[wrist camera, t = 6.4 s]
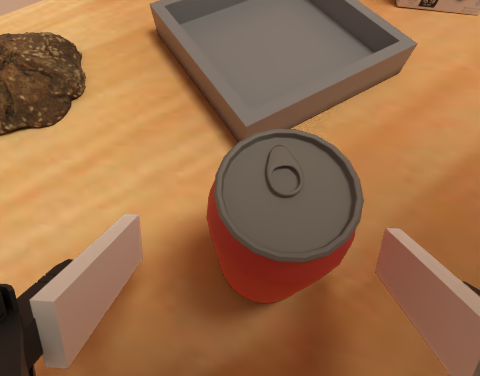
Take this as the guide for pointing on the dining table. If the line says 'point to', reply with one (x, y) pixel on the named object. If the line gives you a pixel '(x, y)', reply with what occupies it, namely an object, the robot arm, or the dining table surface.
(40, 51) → the bread roll
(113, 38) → the dining table surface
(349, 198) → the beer can
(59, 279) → the robot arm
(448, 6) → the light bulb box
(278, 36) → the tray
